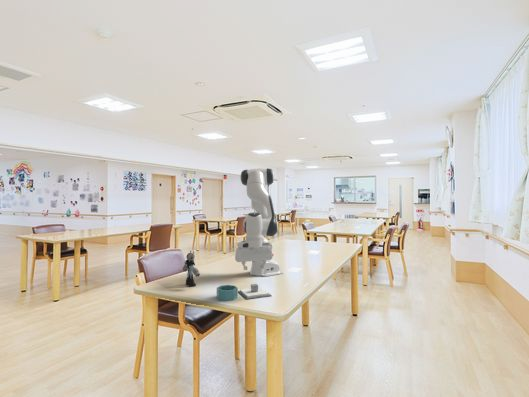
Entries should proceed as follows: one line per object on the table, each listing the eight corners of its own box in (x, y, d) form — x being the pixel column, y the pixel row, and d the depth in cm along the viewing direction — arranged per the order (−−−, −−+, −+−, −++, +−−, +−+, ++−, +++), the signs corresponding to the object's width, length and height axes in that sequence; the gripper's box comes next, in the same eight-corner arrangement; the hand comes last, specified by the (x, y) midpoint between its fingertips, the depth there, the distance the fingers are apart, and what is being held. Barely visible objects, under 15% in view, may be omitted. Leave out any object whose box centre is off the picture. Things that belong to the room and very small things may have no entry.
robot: (180, 282, 185) (179, 249, 185) (187, 281, 188) (187, 248, 188) (194, 289, 170) (194, 254, 170) (202, 288, 173) (201, 253, 173)
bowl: (233, 293, 163) (233, 284, 163) (239, 299, 154) (239, 289, 154) (215, 295, 159) (215, 286, 159) (219, 301, 150) (219, 291, 150)
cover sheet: (260, 288, 170) (260, 280, 170) (269, 295, 159) (269, 286, 159) (240, 291, 165) (240, 283, 165) (247, 298, 154) (247, 289, 154)
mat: (261, 288, 171) (261, 288, 171) (271, 296, 158) (271, 295, 158) (238, 291, 166) (238, 291, 166) (246, 299, 153) (246, 298, 153)
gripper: (269, 241, 169) (269, 266, 169) (234, 243, 161) (234, 269, 161) (274, 243, 163) (274, 269, 163) (237, 244, 155) (237, 272, 155)
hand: (254, 269), depth 162 cm, fingers open, 8 cm apart
